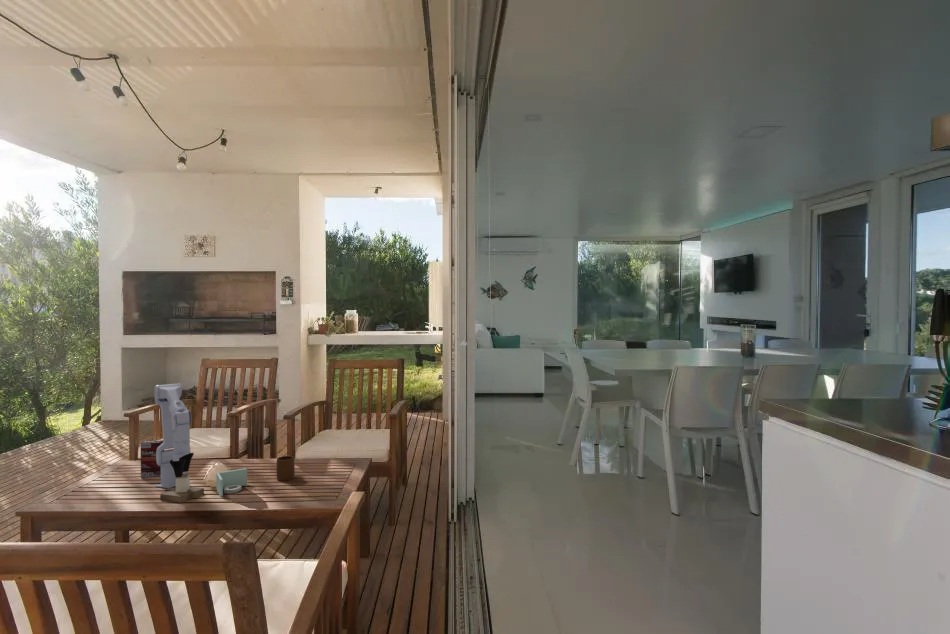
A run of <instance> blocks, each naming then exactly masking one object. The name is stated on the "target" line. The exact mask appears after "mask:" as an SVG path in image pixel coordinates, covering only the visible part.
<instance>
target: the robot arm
mask: <svg viewBox="0 0 950 634" xmlns="http://www.w3.org/2000/svg"><path fill="white" fill-rule="evenodd" d="M153 392H154V393H153V394H154V402H155V403H154V404H155V405H158V406H159V407H160V414H161V415H160V416H161V427H162V428H161V429H162V440H163V443H162V444H161V445H160V446H159V447H158V448H157V450H156V462H157V465H159V466H161V476H160V484H156V485H155V487H156V488H157V487H158V488H164V489H171V488H174V487H176V479H175V477H182V475H183V474H187V472H189V469H190V466H191V462H192V459H193V456H194V454H195V453H194V452H191V444H190V443H191V439H190V438H191V435H190V427H191V424H192V420H193V419H192V413H191V412H192V411H191V410H190V409H187V408H186V405H185V403H184V402H183V401H182V400H180V399H181V397H182V395H183V394H182V392H183V388H182V384H181V383H180V382H178V383H169V384H156V385H154V389H153ZM162 450H164V451H162Z"/></svg>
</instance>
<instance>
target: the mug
mask: <svg viewBox="0 0 950 634" xmlns="http://www.w3.org/2000/svg"><path fill="white" fill-rule="evenodd" d="M295 469H296V468H295V457H294V456H292V455H291V454H288V455H285V456H279V457H278V458H276V480H277V481H279V482H288V481H291V480H293V479H295V473H296V472H295Z"/></svg>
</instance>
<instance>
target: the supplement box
mask: <svg viewBox="0 0 950 634" xmlns="http://www.w3.org/2000/svg"><path fill="white" fill-rule="evenodd" d="M162 443H163V439H162V440H145V441H143V442H140V478H150V477H151V478H155V476H156V477H161V466H159V465H157V462H156V450H157V448H158V447H159V446H160V445H161V444H162ZM164 450H165V449H164ZM164 450H162V451H164Z"/></svg>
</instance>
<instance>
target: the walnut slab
mask: <svg viewBox="0 0 950 634" xmlns="http://www.w3.org/2000/svg"><path fill="white" fill-rule="evenodd" d="M203 495H205V488H204V487H195V486H190V489H189V490H188V491H187V492H180V493H176V488H174V489H171V490H168V491H166V492H165V491H164V492H162V493H160V495H159V496H160V498H159V499H160V501H165V502H170V503H171V502H172V503H177V502H180V503H179V504H182V503H185V502H187V501H190V500H192V499H195V498H198V497H200V496H203ZM184 501H185V502H184ZM181 502H182V503H181Z"/></svg>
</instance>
